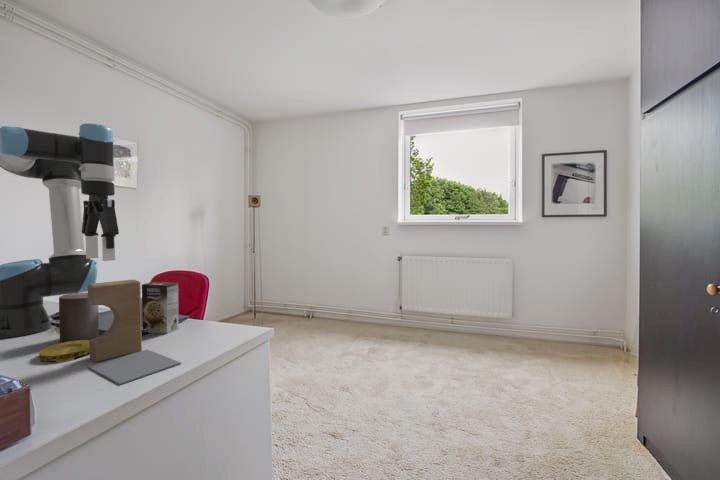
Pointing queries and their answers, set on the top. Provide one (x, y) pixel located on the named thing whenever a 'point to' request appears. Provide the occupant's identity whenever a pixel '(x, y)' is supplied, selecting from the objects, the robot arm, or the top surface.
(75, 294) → the pillar candle
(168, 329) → the coffee box
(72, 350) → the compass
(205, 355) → the top surface
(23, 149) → the robot arm
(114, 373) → the mat
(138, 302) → the decorative block
